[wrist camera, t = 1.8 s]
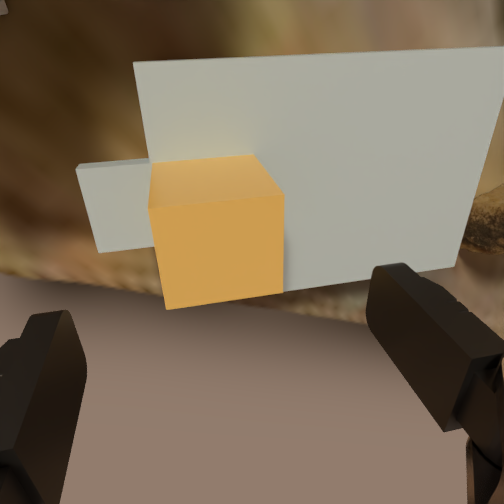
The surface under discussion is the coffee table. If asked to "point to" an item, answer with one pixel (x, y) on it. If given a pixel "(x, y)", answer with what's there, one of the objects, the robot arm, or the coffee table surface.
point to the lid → (299, 168)
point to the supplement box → (3, 8)
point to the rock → (486, 224)
